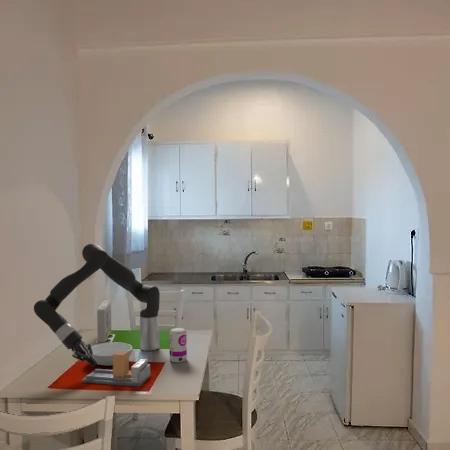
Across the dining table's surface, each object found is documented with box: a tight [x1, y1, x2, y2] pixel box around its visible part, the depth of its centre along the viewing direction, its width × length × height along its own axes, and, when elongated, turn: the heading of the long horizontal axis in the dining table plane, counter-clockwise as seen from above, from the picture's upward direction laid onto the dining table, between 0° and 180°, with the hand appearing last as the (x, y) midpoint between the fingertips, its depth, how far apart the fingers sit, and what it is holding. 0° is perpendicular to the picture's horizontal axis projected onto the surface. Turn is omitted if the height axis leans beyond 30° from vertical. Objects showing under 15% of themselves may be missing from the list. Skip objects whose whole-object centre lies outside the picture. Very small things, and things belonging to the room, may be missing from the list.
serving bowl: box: [91, 341, 133, 367], centre depth 215 cm, size 21×21×7 cm
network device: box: [94, 300, 116, 345], centre depth 253 cm, size 26×9×20 cm, turn 6°
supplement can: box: [168, 327, 188, 363], centre depth 217 cm, size 8×8×15 cm
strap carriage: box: [112, 351, 131, 378], centre depth 192 cm, size 12×5×10 cm, turn 79°
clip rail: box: [81, 358, 151, 387], centre depth 193 cm, size 26×12×8 cm, turn 79°
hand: (94, 365), depth 195 cm, fingers closed
